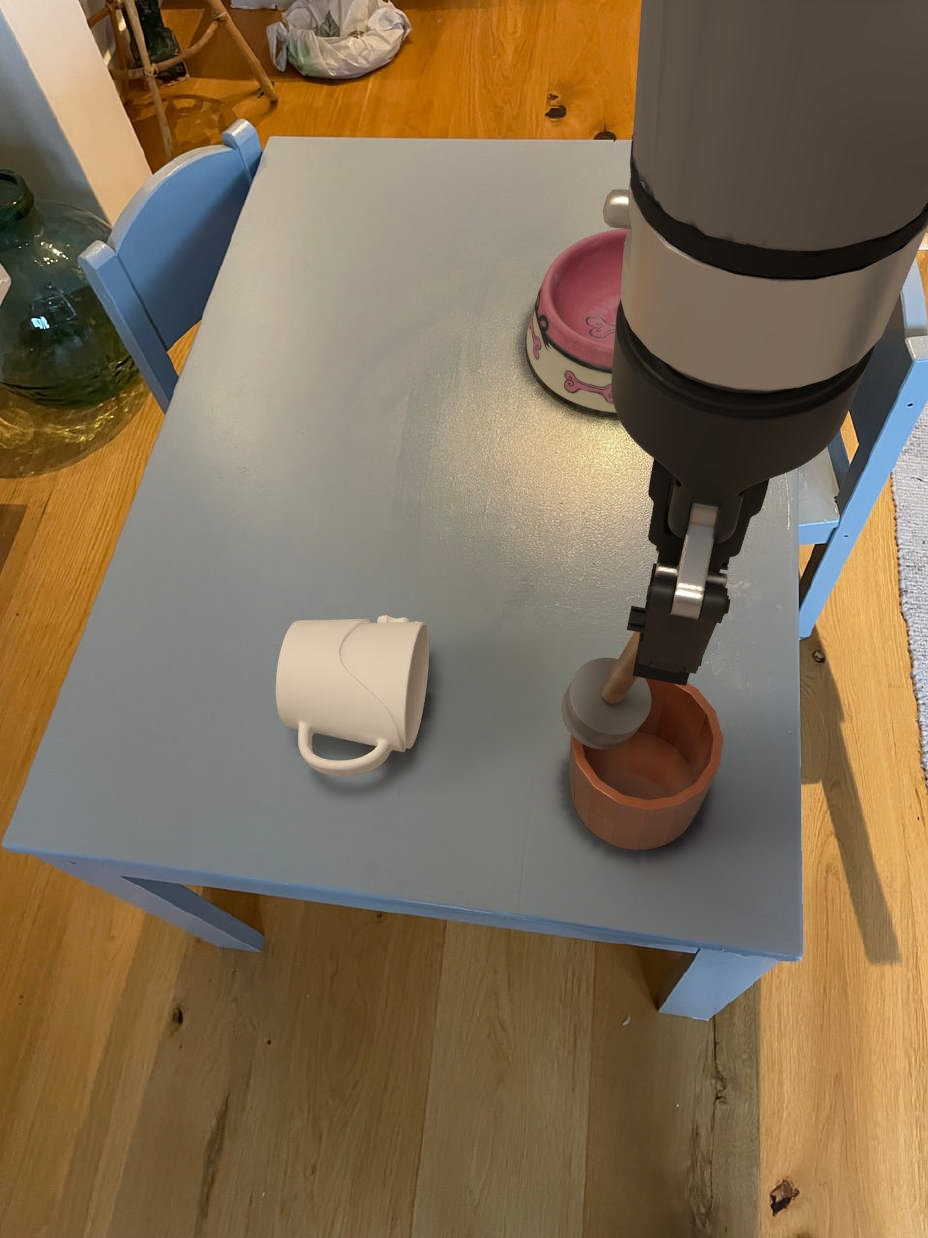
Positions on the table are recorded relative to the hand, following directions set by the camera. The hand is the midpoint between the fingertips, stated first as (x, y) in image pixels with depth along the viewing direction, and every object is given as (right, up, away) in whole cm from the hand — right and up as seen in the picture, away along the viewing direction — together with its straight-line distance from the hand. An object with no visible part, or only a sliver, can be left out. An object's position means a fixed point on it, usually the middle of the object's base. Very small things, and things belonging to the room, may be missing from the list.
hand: (663, 656), depth 48 cm
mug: (-18, -5, +23) cm, 30 cm away
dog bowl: (+5, +28, +39) cm, 48 cm away
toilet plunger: (-2, -4, +9) cm, 9 cm away
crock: (+2, -10, +19) cm, 21 cm away
